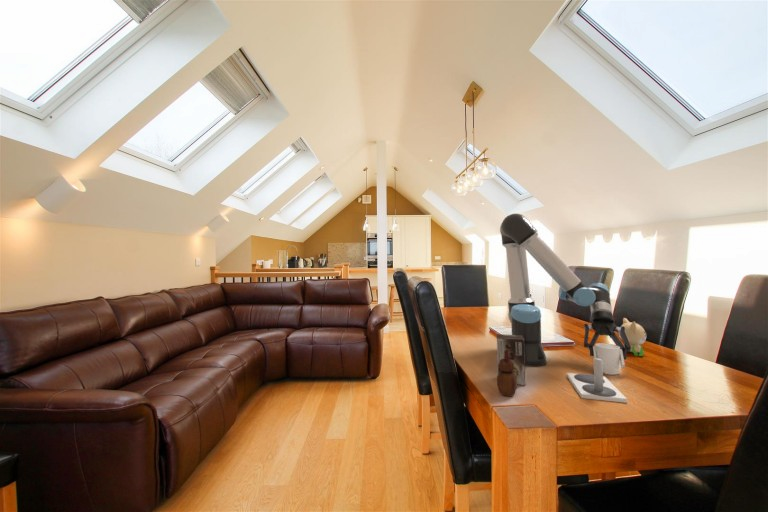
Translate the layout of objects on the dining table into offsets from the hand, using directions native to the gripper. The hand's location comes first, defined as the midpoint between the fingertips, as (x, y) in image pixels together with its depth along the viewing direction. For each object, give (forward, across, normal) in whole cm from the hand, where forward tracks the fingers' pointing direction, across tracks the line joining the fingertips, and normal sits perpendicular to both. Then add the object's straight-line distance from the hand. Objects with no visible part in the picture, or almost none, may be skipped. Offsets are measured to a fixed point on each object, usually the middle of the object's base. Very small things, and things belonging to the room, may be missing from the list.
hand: (609, 365), depth 117 cm
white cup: (0, 0, -5) cm, 5 cm away
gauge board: (+15, +7, +10) cm, 19 cm away
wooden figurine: (+27, +32, +22) cm, 47 cm away
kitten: (-24, -14, -30) cm, 41 cm away
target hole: (+10, +7, +7) cm, 14 cm away
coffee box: (+19, +32, +13) cm, 39 cm away
